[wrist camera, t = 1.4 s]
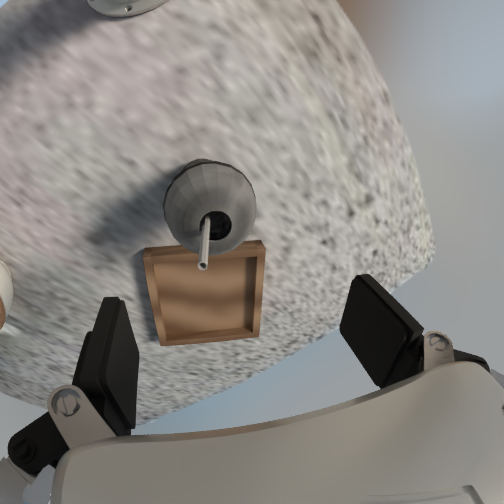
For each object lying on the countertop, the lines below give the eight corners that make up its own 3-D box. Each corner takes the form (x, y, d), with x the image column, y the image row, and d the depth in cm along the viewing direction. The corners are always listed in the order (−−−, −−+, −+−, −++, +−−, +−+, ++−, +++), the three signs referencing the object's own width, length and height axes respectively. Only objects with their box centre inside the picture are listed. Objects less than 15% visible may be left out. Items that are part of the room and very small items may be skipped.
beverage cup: (237, 199, 33) (299, 297, 16) (178, 213, 32) (177, 329, 15) (226, 141, 30) (288, 174, 12) (164, 155, 29) (132, 210, 12)
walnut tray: (145, 247, 33) (142, 257, 31) (260, 240, 37) (265, 248, 34) (160, 334, 40) (160, 346, 38) (255, 326, 43) (259, 336, 41)
